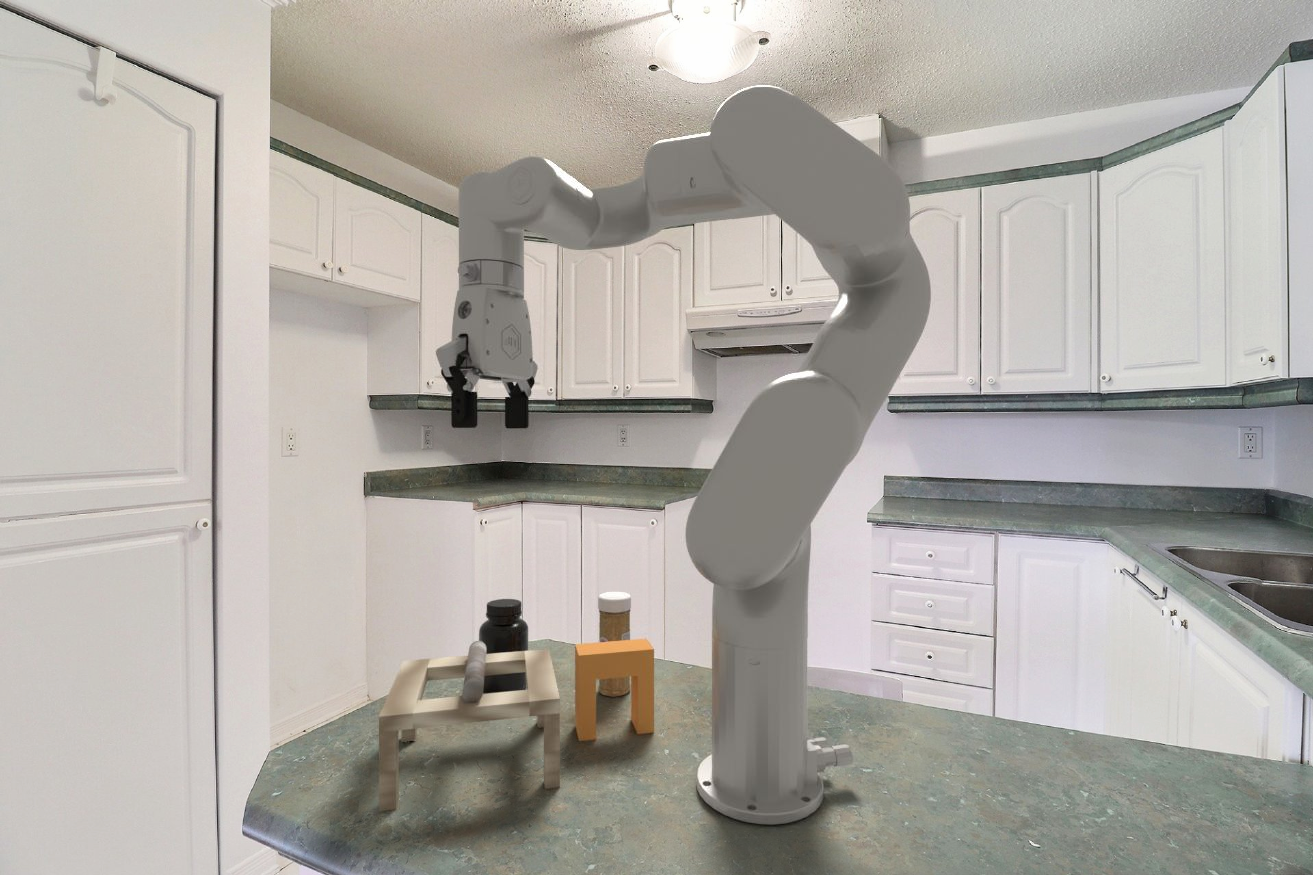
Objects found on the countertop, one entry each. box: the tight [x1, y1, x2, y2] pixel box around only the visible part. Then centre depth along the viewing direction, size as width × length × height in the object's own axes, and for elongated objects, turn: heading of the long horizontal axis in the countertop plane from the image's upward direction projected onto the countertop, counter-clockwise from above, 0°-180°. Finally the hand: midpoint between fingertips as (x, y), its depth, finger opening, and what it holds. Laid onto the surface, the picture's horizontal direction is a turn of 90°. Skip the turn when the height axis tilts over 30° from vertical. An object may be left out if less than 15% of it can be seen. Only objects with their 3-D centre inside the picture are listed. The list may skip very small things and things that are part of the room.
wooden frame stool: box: [378, 640, 561, 812], centre depth 69 cm, size 17×15×11 cm
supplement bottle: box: [478, 598, 529, 694], centre depth 88 cm, size 7×7×12 cm
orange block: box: [574, 638, 655, 742], centre depth 76 cm, size 9×4×10 cm, turn 104°
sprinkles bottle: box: [597, 591, 632, 698], centre depth 87 cm, size 5×5×14 cm
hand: (492, 428), depth 74 cm, fingers open, 9 cm apart
